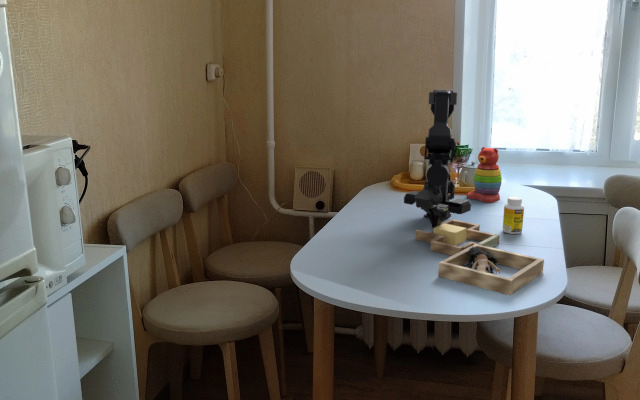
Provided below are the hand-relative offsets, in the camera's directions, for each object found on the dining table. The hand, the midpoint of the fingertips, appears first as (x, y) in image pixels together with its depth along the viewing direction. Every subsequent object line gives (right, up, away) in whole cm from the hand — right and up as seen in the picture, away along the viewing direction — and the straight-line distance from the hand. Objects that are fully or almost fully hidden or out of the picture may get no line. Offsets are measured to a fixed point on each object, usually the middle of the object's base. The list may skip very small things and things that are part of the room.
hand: (435, 231), depth 192 cm
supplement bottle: (+23, -1, +5) cm, 24 cm away
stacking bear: (+25, +9, +43) cm, 51 cm away
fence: (+9, -9, -28) cm, 31 cm away
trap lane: (+5, -3, -4) cm, 7 cm away
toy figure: (+7, -9, -27) cm, 30 cm away
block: (+4, -3, -3) cm, 5 cm away
